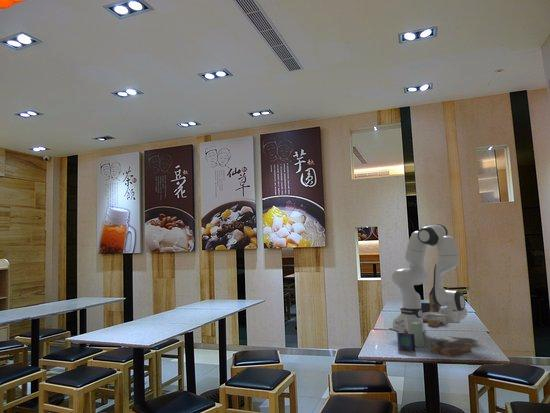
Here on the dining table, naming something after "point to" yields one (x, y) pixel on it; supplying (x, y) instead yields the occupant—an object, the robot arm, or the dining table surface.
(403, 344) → the flask
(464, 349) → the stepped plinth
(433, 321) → the toy building blocks
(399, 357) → the dining table surface
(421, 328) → the sage column
